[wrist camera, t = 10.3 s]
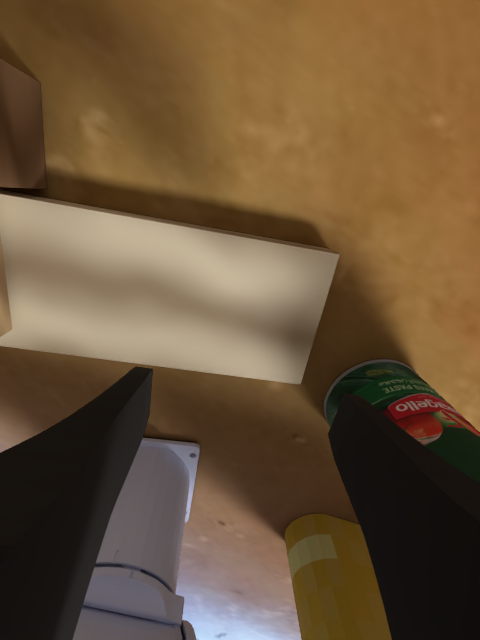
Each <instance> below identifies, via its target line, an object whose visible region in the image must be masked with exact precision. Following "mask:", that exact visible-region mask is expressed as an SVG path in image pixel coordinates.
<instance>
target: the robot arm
mask: <svg viewBox="0 0 480 640" xmlns="http://www.w3.org/2000/svg"><path fill="white" fill-rule="evenodd" d="M152 375H153V369H150V368H142V367H135V368H133V369H132V370H130V371H129V372H128V373H127V374H126V375H124V376H123V377H122V378H121V379H119V380H118V381H117V382H116V383H114V384H113V385H112V386H111V387H109V388H108V389H107V390H105V391H104V392H103V393H102V394H100V395H99V396H98V397H96V398H95V399H94V400H92V401H91V402H89V403H88V404H86V405H85V406H83V407H82V408H80V409H79V410H78V411H76V412H75V413H73V414H72V415H70V416H69V417H67V418H65V419H64V420H62V421H61V422H59V423H57V424H55V425H54V426H52V427H50V428H48V429H47V430H45V431H43V432H41V433H39V434H38V435H36V436H34V437H32V438H30V439H28V440H26V441H24V442H22V443H20V444H18V445H16V446H13V447H11V448H9V449H7V450H5V451H3V452H1V453H0V640H196V636H195V632H194V629H193V627H192V625H191V624H190V623H189V622H188V621H185V620H182V615H183V605H184V597H182V596H178V595H176V594H175V593H176V585H177V578H178V570H179V562H180V555H181V547H182V539H183V532H184V524H185V522H187V521H188V519H189V513H190V507H191V501H192V495H193V489H194V483H195V477H196V471H197V465H198V459H199V453H200V446H199V445H198V444H197V443H189V442H180V441H170V440H161V439H151V438H143V435H144V432H145V428H146V425H147V421H148V418H149V414H150V401H151V388H152ZM328 436H329V440H330V445H331V449H332V453H333V456H334V460H335V463H336V465H337V468H338V471H339V473H340V476H341V478H342V481H343V483H344V486H345V488H346V491H347V493H348V496H349V498H350V501H351V503H352V506H353V508H354V511H355V513H356V516H357V518H358V521H359V524H360V526H361V529H362V532H363V535H364V538H365V541H366V545H367V548H368V551H369V555H370V558H371V561H372V565H373V568H374V572H375V576H376V579H377V583H378V587H379V590H380V594H381V598H382V602H383V605H384V609H385V613H386V618H387V622H388V626H389V630H390V634H391V638H392V640H480V483H479V482H477V481H476V480H474V479H473V478H471V477H470V476H468V475H466V474H465V473H463V472H462V471H460V470H459V469H457V468H456V467H454V466H453V465H451V464H450V463H448V462H447V461H445V460H444V459H442V458H441V457H439V456H438V455H437V454H435V453H434V452H433V451H431V450H430V449H428V448H427V447H426V446H424V445H423V444H422V443H420V442H419V441H418V440H416V439H415V438H414V437H412V436H411V435H410V434H408V433H407V432H406V431H405V430H403V429H402V428H401V427H400V426H398V425H397V424H396V423H394V422H393V421H392V420H391V419H389V418H388V417H387V416H386V415H384V414H383V413H382V412H381V411H379V410H378V409H377V408H376V407H374V406H373V405H372V404H370V403H369V402H368V401H366V400H365V399H364V398H362V397H361V396H359V395H354V394H346V393H343V396H342V398H341V401H340V404H339V407H338V409H337V412H336V415H335V417H334V420H333V423H332V425H331V428H330V431H329V433H328ZM191 453H195V454H191Z"/></svg>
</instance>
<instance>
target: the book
mask: <svg viewBox="0 0 480 640" xmlns="http://www.w3.org/2000/svg"><path fill="white" fill-rule="evenodd" d="M284 537H285V543H286V549H287V555H288V561H289V567H290V573H291V579H292V585H293V591H294V597H295V603H296V609H297V615H298V621H299V627H300V633H301V639H302V640H392V638H391V634H390V630H389V626H388V622H387V618H386V613H385V609H384V605H383V602H382V598H381V594H380V590H379V587H378V583H377V579H376V576H375V572H374V568H373V565H372V561H371V558H370V555H369V551H368V548H367V545H366V541H365V538H364V535H363V532H362V529H361V526H360V525H359V524H356V523H352V522H349V521H346V520H343V519H340V518H336V517H333V516H330V515H327V514H309V515H305V516H301V517H299V518H298V519H296V520H294V521H293V522H291V523H290V525H289V526H288V527H287V528H286V531H285V536H284Z"/></svg>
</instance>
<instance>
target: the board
mask: <svg viewBox="0 0 480 640" xmlns="http://www.w3.org/2000/svg"><path fill="white" fill-rule="evenodd" d="M0 235H1V243H2V251H3V259H4V267H5V275H6V283H7V291H8V299H9V307H10V315H11V323H12V330H11V331H9V332H8V333H6V334H4V335H3V336H1V337H0V346H4V347H12V348H20V349H28V350H36V351H43V352H51V353H59V354H67V355H74V356H82V357H90V358H98V359H106V360H113V361H121V362H129V363H137V364H144V365H152V366H160V367H168V368H176V369H183V370H191V371H199V372H207V373H214V374H222V375H230V376H238V377H245V378H253V379H261V380H269V381H277V382H284V383H292V384H301V381H302V378H303V374H304V371H305V368H306V365H307V361H308V358H309V355H310V351H311V348H312V345H313V341H314V338H315V335H316V332H317V328H318V325H319V322H320V318H321V315H322V312H323V308H324V305H325V302H326V299H327V295H328V292H329V289H330V285H331V282H332V279H333V275H334V272H335V269H336V266H337V262H338V259H339V256H340V254H338V253H336V252H334V251H332V250H330V249H328V248H322V247H317V246H311V245H305V244H300V243H294V242H289V241H283V240H278V239H272V238H266V237H261V236H255V235H250V234H244V233H239V232H233V231H227V230H222V229H216V228H211V227H205V226H200V225H194V224H188V223H183V222H177V221H172V220H166V219H161V218H155V217H149V216H144V215H138V214H133V213H127V212H122V211H116V210H110V209H105V208H99V207H94V206H88V205H83V204H77V203H71V202H66V201H60V200H55V199H49V198H44V197H38V196H32V195H27V194H21V193H16V192H10V191H5V190H0Z"/></svg>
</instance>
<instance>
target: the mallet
mask: <svg viewBox="0 0 480 640" xmlns="http://www.w3.org/2000/svg"><path fill="white" fill-rule="evenodd" d="M0 187H9V188H36V189H47V181H46V166H45V150H44V135H43V119H42V104H41V88H40V82H38V81H36V80H35V79H33V78H31V77H30V76H28V75H27V74H25V73H23V72H22V71H20V70H18V69H17V68H15V67H13V66H12V65H10V64H8V63H7V62H5V61H3V60H2V59H0ZM11 330H12V323H11V315H10V307H9V299H8V291H7V283H6V275H5V267H4V259H3V251H2V243H1V235H0V337H1V336H3V335H4V334H6V333H8V332H9V331H11Z"/></svg>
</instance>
